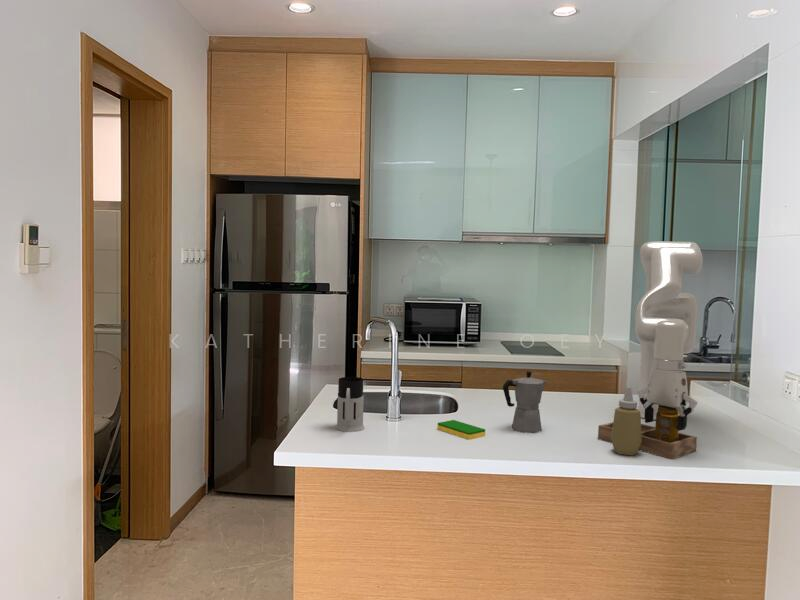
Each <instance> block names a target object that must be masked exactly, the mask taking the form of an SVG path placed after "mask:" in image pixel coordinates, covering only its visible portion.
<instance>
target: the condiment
mask: <svg viewBox="0 0 800 600" xmlns="http://www.w3.org/2000/svg"><path fill="white" fill-rule="evenodd" d="M658 406H659V407H658V412H657V413H656V420H655V427H656V429H655V439H657V440H661V441H665V442H669V443H672V442H676V441H678V435H679V433H680V432H679V430H677V421H678V416H680V414H679V413H678V411H677V410H676V408H672V407H667V406H662V405H658Z"/></svg>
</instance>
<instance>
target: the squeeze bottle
mask: <svg viewBox="0 0 800 600" xmlns="http://www.w3.org/2000/svg"><path fill="white" fill-rule="evenodd" d="M638 409H639V408H638V401H637V400H634V397H633V391H632V387H626V388H625V392H624V395H623V399H619V400H618V407H616V408H615V409H614V415H613V427H612V433H611V440H612V443H611V444H612V447H613V451H614V452H615V453H616V454H620V455H624V456H634V455H637V453H638V452H639V450H638V449H639V447H640V445H641V442H642V434H641V424H642V421H641V419H642V418H641V416H640V411H639V410H638Z"/></svg>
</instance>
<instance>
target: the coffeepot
mask: <svg viewBox="0 0 800 600" xmlns="http://www.w3.org/2000/svg"><path fill="white" fill-rule="evenodd" d="M525 372H526V373H525V374H526V377H520V378H515V379H507V380H506V381H505V382H504V383H503V385H502V390H503V394H504V397H505V400H506V404H507V406H508V407H511V408H512V407H515V403H512V402H511V401H512V400H511V395H510V388H509V387H514V395H515V401H516V407H515V411H514V416H513V420H512V424H511V427H512V429H513V430H514V431H516V432H519V431H520V433H525V432H527V434H528V433H530V434H533V433H534V432H535V433H539V431H540V432H541V431H542V430H543V429H542V422H541V420H542V419H541V414H540V409H539V408H540V405H539V404H540V403H541V400H542V395H543V394H542V393H543V388H544V387H545V385H546V384H547V383H548V381H547V380H545V379H544V380H543V379H539V378H534V377H532V376H531V375H532V371H525ZM535 433H534V434H535Z"/></svg>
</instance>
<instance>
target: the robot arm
mask: <svg viewBox="0 0 800 600" xmlns="http://www.w3.org/2000/svg"><path fill="white" fill-rule="evenodd" d="M701 250H702V249H701V248H700V246H699V245H698V243H696V242H693V241H666V240H665V241H664V240H663V241H662V240H661V241H660V240H659V241H658V240H657V241H647V242H644V243H643V244H642V245H641V247H640V251H639V252H640V253H639V254H640V255H639V256H640V262H641V266H642V267H643V271H644V273H645V277H646V287H645V289H646V290H645V294H644V295H643V296H642V297H641V298H640V300H639V302H638V304H637V307H636V310H635V325H634V328H635V329H634V330H635V336H636V338H637V341H639V348H640V372H639V373H640V374H639V390H637V393H636V394H637V396H638V408H637V409H638V410H639V411H640V416H641V419H644V422H645V423H646V424H648V423H652V422H654V421H656V413H657V412H658V407H659V406H658V405H662V406H667V407H672V408H676V410H677V411H678V414H679V416H678V421H677V430H679V431H680V432H681V431H684V430H686V428H687V422H688V416H689V415H690V414H691V413H692V412H694V410H695V408H696V407H697V405H698V401H696V400H695V399H694V398H692V397H691V396H690V395H689V391H688V390H689V389H688V379H687V374H686V371H683V370H685V369H687V367H688V364H687V363H685V362H684V354H685V355H686V354H691V353H692V352H693V351H694V349H695V346H696V338H697V321H698V320H697V318H698V317H697V316H698V302H697V299H696V297H695V296H694V295H693V294H691V293H690V292H682V289H683V288H682V287H683V284H682V283H683V282H682V275H698V274H699V273H700V272H701V270H702V268H703V261H704V260H703V253H702V251H701Z"/></svg>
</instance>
